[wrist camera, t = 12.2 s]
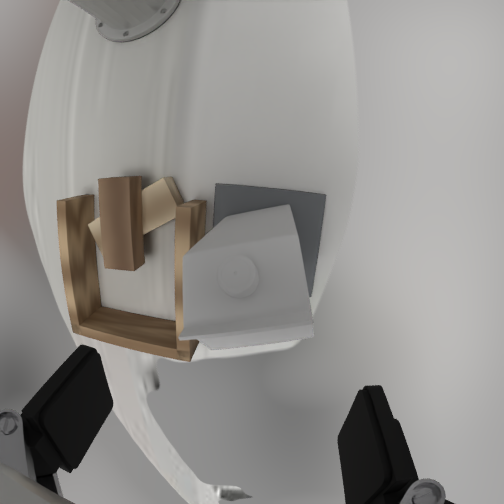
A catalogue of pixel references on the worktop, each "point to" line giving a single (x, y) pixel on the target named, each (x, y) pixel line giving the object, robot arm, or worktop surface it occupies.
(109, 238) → the offcut upper
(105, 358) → the worktop surface
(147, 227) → the offcut lower
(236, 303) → the milk carton
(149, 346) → the rack
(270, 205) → the mat
